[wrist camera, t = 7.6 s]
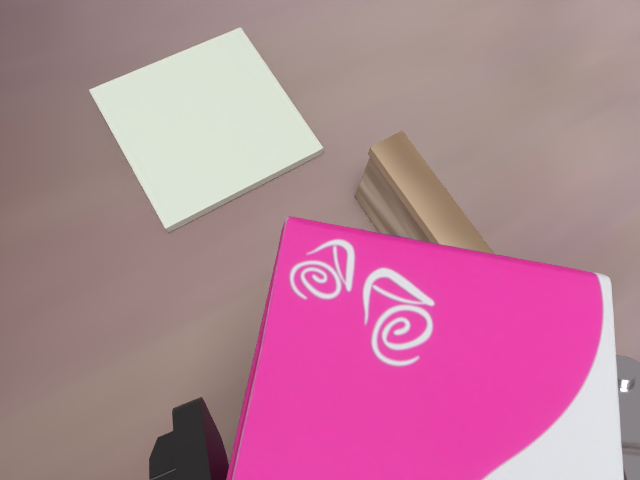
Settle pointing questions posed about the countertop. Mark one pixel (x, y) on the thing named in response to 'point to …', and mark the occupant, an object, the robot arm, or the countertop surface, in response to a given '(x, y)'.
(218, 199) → the mat
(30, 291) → the countertop surface
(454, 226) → the wooden plank offcut
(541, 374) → the supplement box
